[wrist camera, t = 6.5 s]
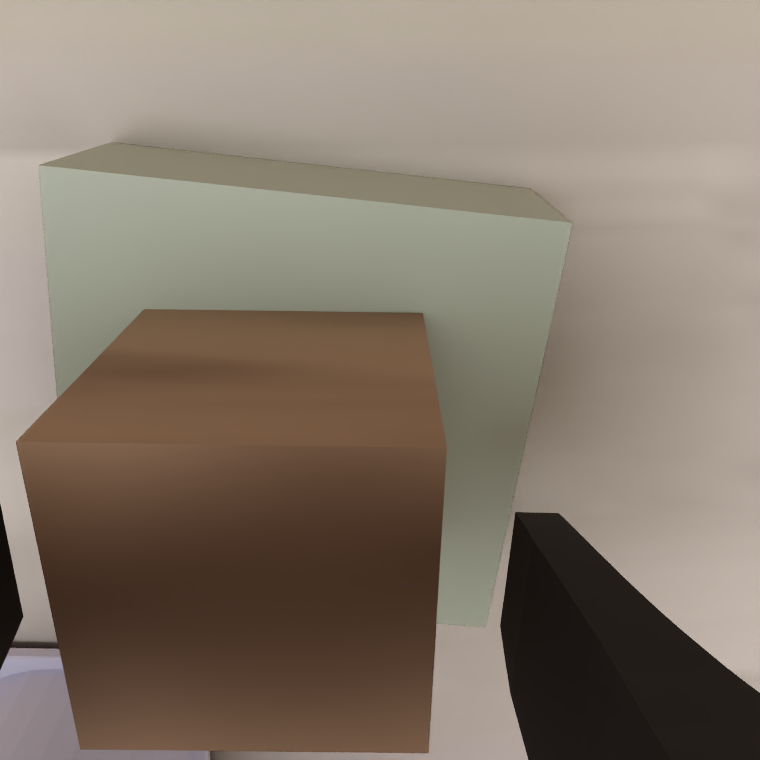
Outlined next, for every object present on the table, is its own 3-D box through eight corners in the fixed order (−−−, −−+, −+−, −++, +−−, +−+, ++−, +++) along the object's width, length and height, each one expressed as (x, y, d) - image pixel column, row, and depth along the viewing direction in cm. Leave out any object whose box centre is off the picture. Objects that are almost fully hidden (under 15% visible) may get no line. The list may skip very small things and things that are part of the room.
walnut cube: (413, 542, 15) (428, 753, 10) (171, 539, 15) (79, 749, 10) (422, 313, 13) (446, 447, 8) (144, 309, 13) (15, 442, 8)
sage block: (464, 521, 20) (485, 627, 16) (129, 494, 19) (73, 595, 16) (526, 185, 16) (573, 222, 12) (116, 140, 16) (39, 165, 12)
